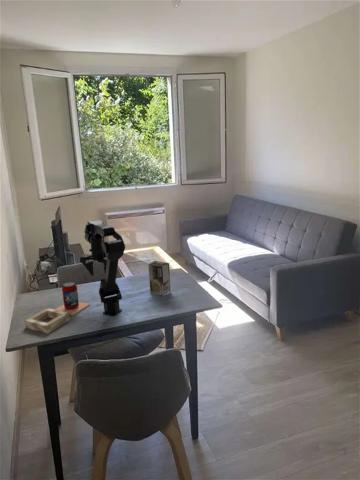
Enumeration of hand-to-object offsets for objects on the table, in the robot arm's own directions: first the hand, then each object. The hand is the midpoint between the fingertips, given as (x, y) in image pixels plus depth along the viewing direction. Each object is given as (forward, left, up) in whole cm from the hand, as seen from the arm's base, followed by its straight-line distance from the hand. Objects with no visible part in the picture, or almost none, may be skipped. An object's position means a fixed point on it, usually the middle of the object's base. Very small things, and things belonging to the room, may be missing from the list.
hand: (99, 276), depth 175 cm
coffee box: (-22, -20, -13) cm, 33 cm away
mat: (+9, +12, -13) cm, 20 cm away
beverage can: (+9, +12, -13) cm, 20 cm away
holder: (+8, +28, -13) cm, 32 cm away
